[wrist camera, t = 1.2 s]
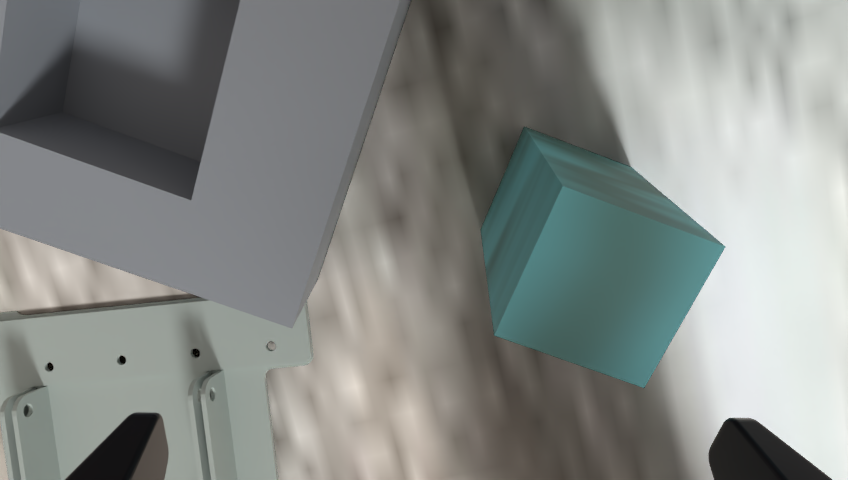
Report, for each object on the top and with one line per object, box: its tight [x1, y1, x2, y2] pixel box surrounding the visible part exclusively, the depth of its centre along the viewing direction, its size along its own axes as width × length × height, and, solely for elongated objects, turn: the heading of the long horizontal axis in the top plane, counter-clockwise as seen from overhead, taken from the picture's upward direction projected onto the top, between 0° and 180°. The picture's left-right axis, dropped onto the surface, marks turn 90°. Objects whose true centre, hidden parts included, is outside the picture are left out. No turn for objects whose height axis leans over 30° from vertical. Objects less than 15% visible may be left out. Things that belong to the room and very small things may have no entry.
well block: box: [0, 0, 411, 328], centre depth 19 cm, size 14×12×4 cm
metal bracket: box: [0, 298, 313, 480], centre depth 26 cm, size 14×6×15 cm
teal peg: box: [481, 127, 725, 388], centre depth 18 cm, size 4×4×8 cm
